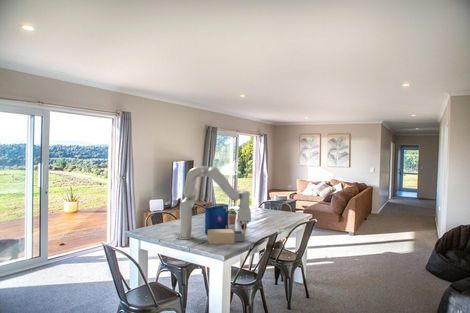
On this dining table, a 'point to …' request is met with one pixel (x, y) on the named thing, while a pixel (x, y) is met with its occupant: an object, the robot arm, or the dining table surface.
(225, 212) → the book
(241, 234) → the grey stepped block
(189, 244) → the dining table surface
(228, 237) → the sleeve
